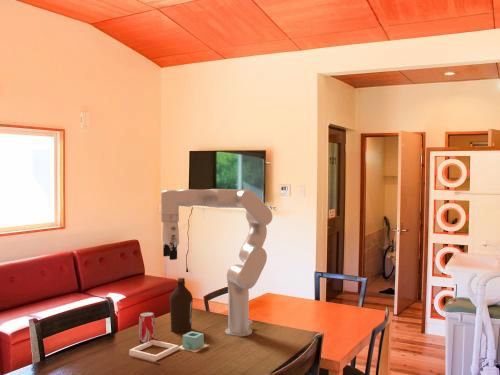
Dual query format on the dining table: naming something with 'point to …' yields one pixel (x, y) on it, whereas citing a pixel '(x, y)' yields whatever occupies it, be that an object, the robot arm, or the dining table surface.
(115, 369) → the dining table surface
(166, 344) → the white square frame
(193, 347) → the collar
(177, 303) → the olive oil
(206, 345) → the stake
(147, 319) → the soda can
